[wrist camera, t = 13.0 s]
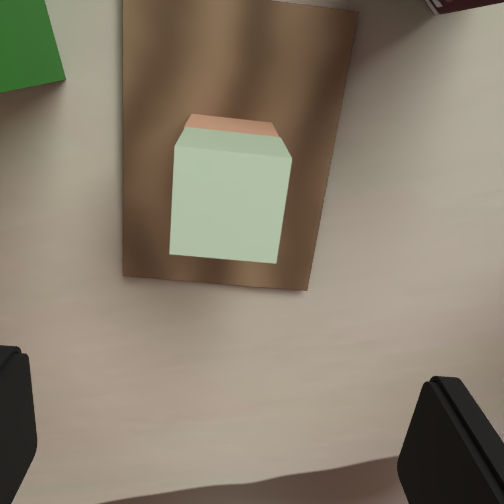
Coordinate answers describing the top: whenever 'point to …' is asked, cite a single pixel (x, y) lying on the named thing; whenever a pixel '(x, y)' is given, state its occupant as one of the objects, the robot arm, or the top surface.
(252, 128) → the terracotta block
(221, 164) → the sage block
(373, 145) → the top surface
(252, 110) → the base board
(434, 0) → the supplement box
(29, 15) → the hardback book
